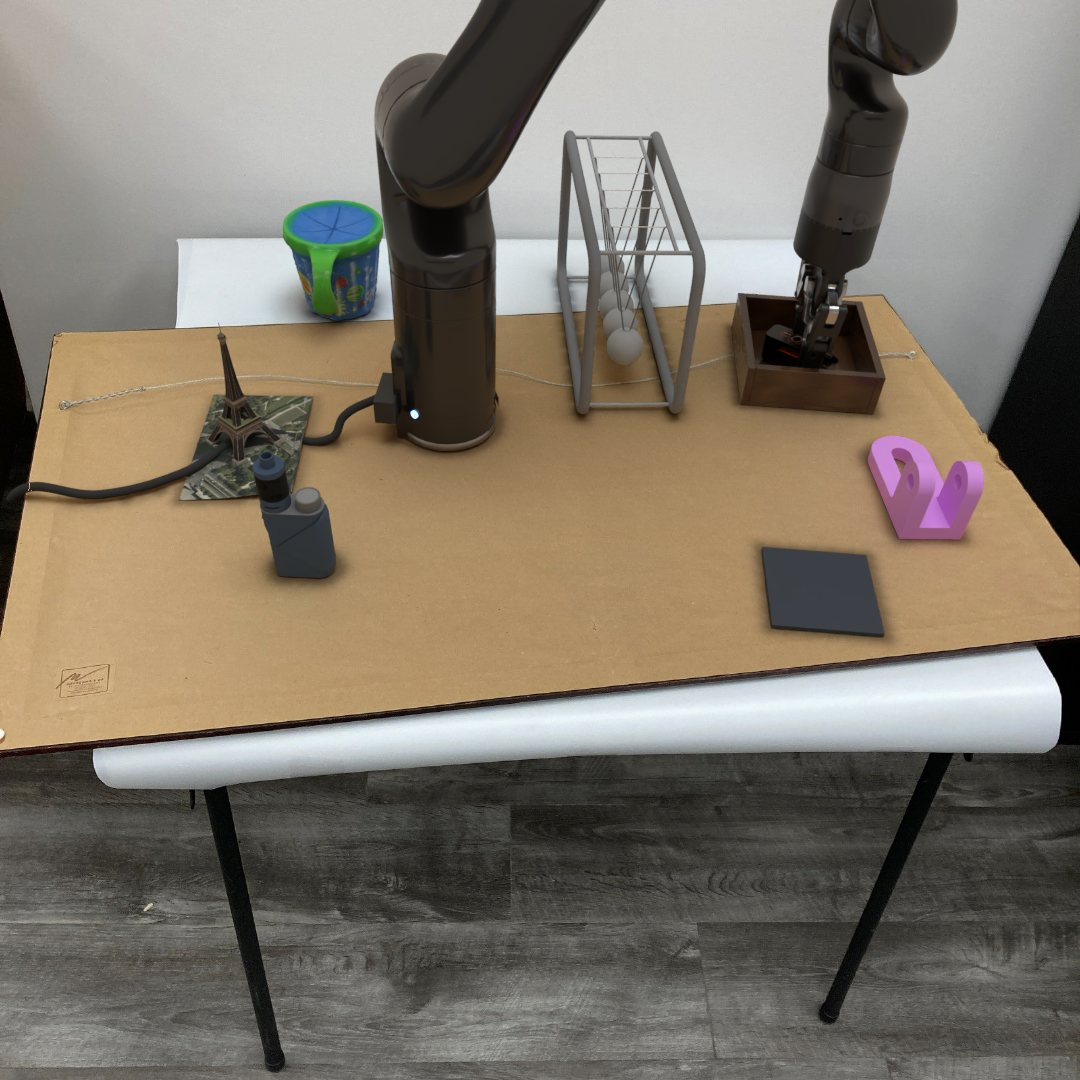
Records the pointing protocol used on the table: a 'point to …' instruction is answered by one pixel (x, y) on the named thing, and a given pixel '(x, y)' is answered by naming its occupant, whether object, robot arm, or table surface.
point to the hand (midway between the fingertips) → (802, 360)
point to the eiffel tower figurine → (245, 437)
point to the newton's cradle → (610, 278)
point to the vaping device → (294, 522)
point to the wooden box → (805, 388)
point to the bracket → (924, 490)
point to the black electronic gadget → (788, 348)
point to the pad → (821, 592)
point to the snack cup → (336, 255)
